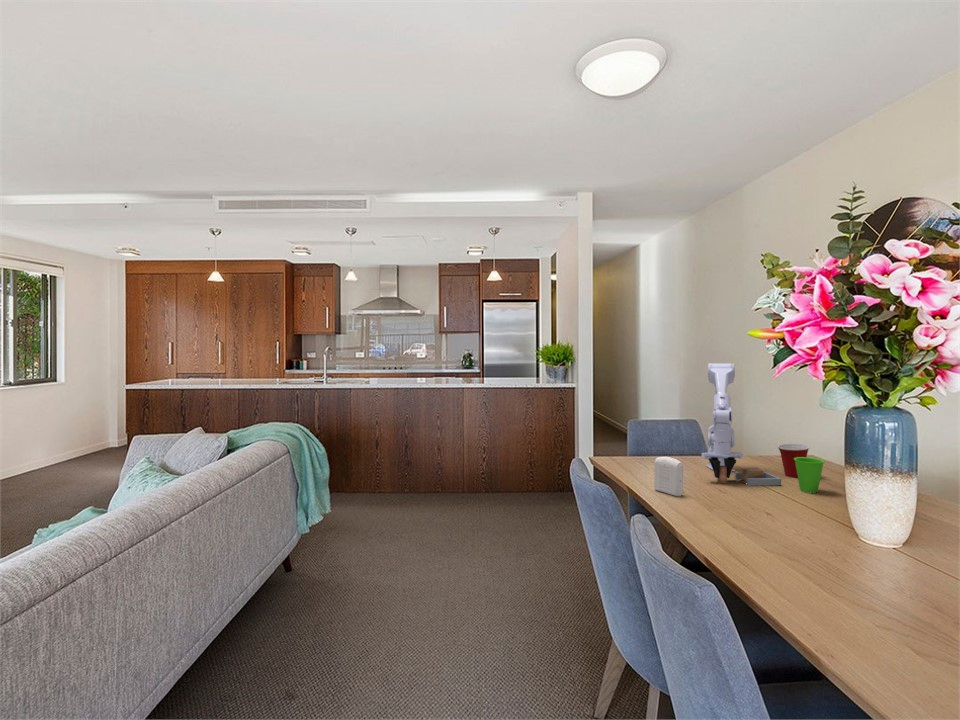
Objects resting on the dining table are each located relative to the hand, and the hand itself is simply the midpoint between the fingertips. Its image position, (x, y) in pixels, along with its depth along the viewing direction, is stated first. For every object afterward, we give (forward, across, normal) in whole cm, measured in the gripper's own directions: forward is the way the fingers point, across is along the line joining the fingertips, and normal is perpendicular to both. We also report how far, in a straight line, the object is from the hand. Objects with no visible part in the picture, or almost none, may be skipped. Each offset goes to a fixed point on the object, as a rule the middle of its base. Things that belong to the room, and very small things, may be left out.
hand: (722, 477), depth 189 cm
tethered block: (+2, +6, 0) cm, 6 cm away
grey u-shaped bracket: (+2, +13, 0) cm, 13 cm away
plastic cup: (+2, +32, +9) cm, 33 cm away
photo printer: (+2, -24, -13) cm, 28 cm away
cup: (+2, +25, -12) cm, 27 cm away
